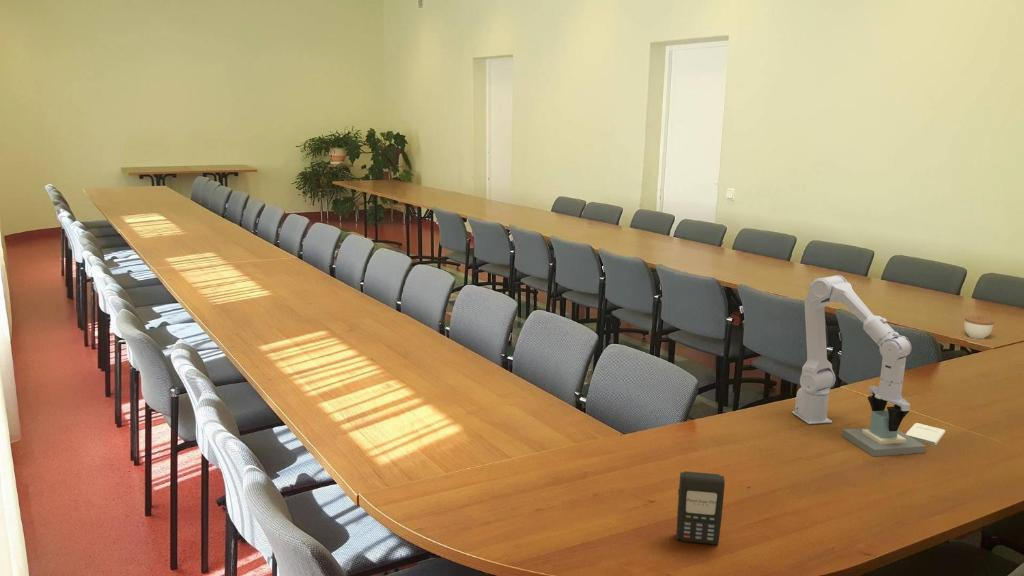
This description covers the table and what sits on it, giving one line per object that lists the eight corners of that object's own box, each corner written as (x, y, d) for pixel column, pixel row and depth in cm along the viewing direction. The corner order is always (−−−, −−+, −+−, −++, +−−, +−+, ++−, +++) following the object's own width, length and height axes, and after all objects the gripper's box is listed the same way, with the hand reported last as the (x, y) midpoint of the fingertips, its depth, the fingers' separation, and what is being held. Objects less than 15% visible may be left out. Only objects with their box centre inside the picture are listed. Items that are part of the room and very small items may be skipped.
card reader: (675, 542, 165) (680, 477, 162) (674, 533, 169) (679, 469, 166) (719, 547, 164) (725, 481, 161) (717, 537, 168) (723, 473, 164)
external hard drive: (903, 439, 224) (914, 427, 233) (935, 447, 219) (945, 434, 228) (904, 434, 223) (915, 422, 233) (936, 442, 218) (945, 429, 228)
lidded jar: (965, 338, 329) (968, 317, 327) (959, 332, 339) (963, 311, 337) (994, 341, 326) (997, 319, 324) (987, 334, 336) (991, 313, 334)
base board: (842, 435, 224) (843, 426, 223) (891, 432, 227) (892, 423, 226) (873, 456, 210) (874, 446, 210) (925, 452, 213) (926, 442, 213)
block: (869, 431, 220) (871, 411, 218) (885, 430, 221) (887, 410, 219) (880, 438, 215) (883, 417, 214) (896, 437, 216) (899, 417, 215)
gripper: (861, 372, 221) (856, 417, 224) (896, 389, 207) (889, 437, 210) (883, 371, 222) (877, 415, 225) (919, 388, 208) (912, 435, 211)
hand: (885, 426), depth 217 cm, fingers open, 6 cm apart
